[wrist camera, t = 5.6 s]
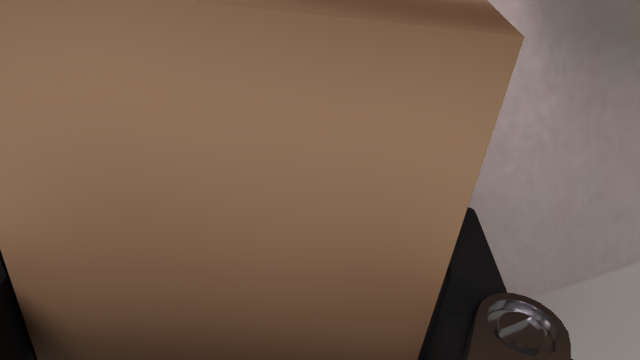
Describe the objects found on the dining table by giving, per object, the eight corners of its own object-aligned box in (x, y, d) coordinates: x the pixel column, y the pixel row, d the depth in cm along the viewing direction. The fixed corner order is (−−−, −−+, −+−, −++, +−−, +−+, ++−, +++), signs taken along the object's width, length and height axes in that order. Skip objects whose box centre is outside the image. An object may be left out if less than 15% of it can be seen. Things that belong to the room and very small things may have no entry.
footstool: (160, -104, 12) (-94, -30, 5) (411, -74, 12) (524, 36, 5) (182, 225, 17) (80, 485, 10) (353, 240, 18) (368, 504, 11)
